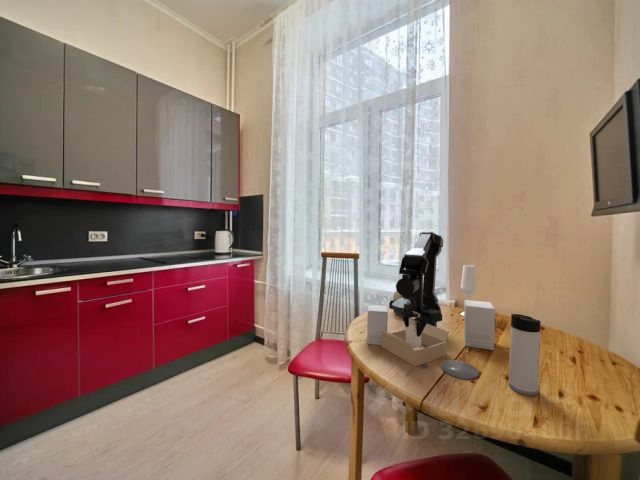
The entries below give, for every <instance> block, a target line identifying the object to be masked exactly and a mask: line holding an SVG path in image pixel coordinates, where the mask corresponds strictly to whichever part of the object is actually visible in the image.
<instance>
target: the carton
mask: <svg viewBox="0 0 640 480" xmlns="http://www.w3.org/2000/svg"><path fill="white" fill-rule="evenodd" d="M380 331H381V332H382V334H383V335H382V345H381V347H382V349H384V350H385V351H388V352H390V353H391V354H393V355H395V356H397V357H399V358H400V359H402V360H403V361H405V362H406V363H409V364H410V365H412V366H414V367H417V366H420V365H424V364H425V363H428V362H431V361H434V360H436V359H438V358H442V357H445V356H447V343H448V342H447V341H446V340H447V338H448V336H449V332H450V331H448V330H445V329H443V328H439V327H435V326H432V325H429V324H426V326H425V328H424V330H423V332H422V333H421V345H423V346H425V347H423V348H421V349H417V350H415V348H413V347H412V346H411V344H410V343H408V342H406V328H404V329H400V330H395V331H392V332H388V331H387V332H386V331H384V330H382V329H380Z"/></svg>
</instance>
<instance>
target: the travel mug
mask: <svg viewBox="0 0 640 480" xmlns="http://www.w3.org/2000/svg"><path fill="white" fill-rule="evenodd" d="M510 315H511V317H510V322H511V323H510V332H509V335H510V336H509V359H508V361H509V363H508V364H509V365H508V386H509V388H511V390H512V391H515V392H516V393H517V394H518V393H519V394H521V395H525V396H530V397H531V396H532V397H533V396H537V394H539V375H540V374H539V372H540V352H541V351H540V350H541V320H539V319H535V318H533V317H531V316H528V315H524V314H519V313H511V314H510Z"/></svg>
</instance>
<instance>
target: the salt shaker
mask: <svg viewBox="0 0 640 480" xmlns="http://www.w3.org/2000/svg"><path fill="white" fill-rule="evenodd" d="M414 318H416V317H414V316H413V317H410V318H409V326H408V327H405V329H406V342H408V343H410V344H411V346H412V347H413V349H415V348H420V347H421V346H422V344H421V335H420V336H419V337H417V324H416V321H415V320H414Z"/></svg>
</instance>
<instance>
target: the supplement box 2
mask: <svg viewBox="0 0 640 480" xmlns="http://www.w3.org/2000/svg"><path fill="white" fill-rule="evenodd" d="M463 302H464V303H463V304H464V305H463V307H464V309H463V310H464V311H463V312H464V316H463V339H464V344H465V347H470V348H476V349H477V348H478V349H483V350H490V351H494V350H495V312H496V310H495V307H494V306H493V304H492V302H489V301H480V300H472V299H471V300H470V299H469V300H467V299H464V301H463Z"/></svg>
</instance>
